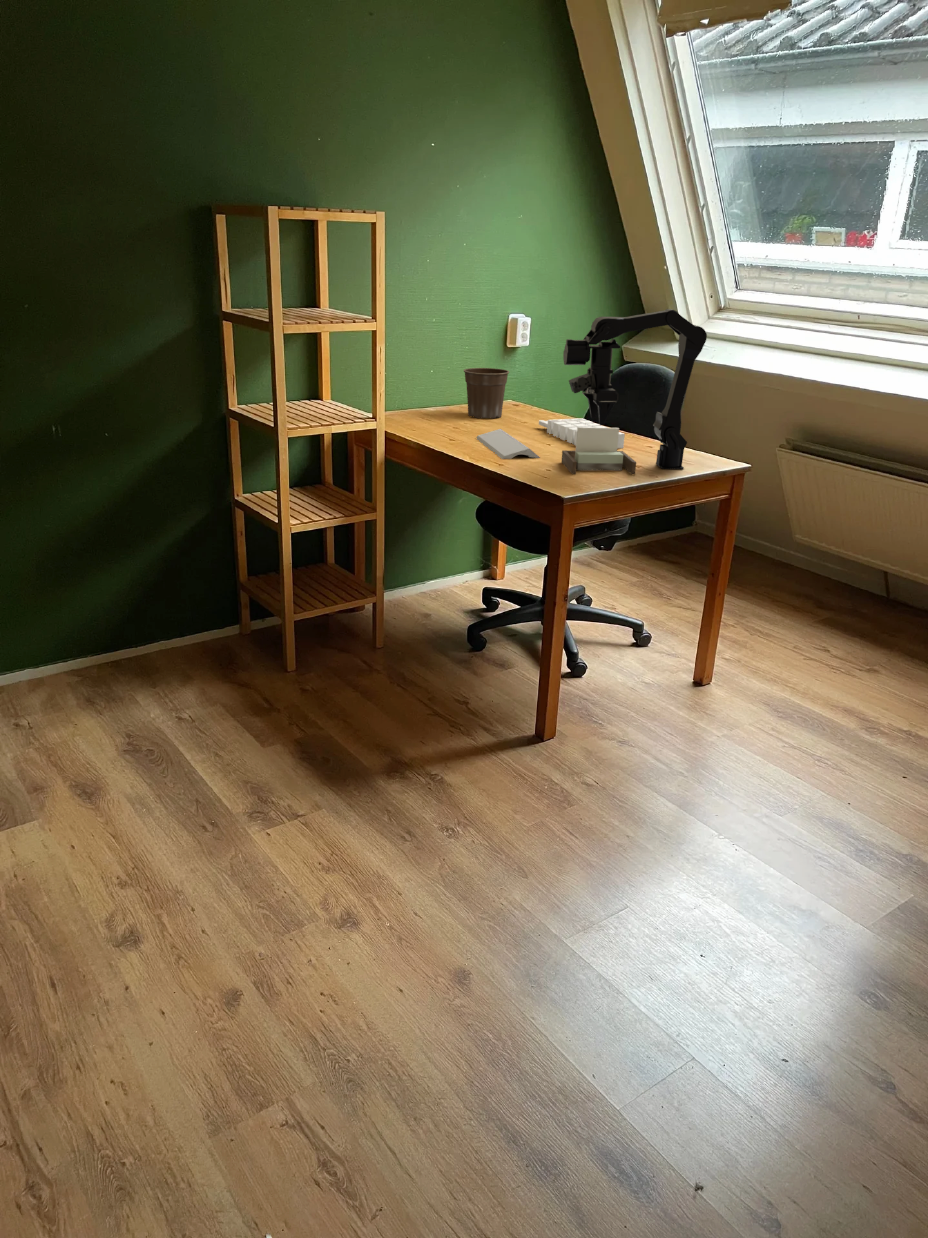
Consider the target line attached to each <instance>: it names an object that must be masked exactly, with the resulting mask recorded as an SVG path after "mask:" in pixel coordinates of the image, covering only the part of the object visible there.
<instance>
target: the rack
mask: <svg viewBox="0 0 928 1238" xmlns="http://www.w3.org/2000/svg"><path fill="white" fill-rule="evenodd" d="M617 452H621V453H622V454H623V464H622V468H623V469H624V470H626V471H627V472H628V473H629V474H630V475H632V474H635V475H636V471H637V469H636V468H637V461H636V460H634V459H633V458H632V457H631V456H630V455H628V454H627V453H626V452H625V451H624V450H617ZM561 464H562V465H563V466H564V467H565V468H566V469H567V470H568V471H569V473H570V474H572V475H576V474H577V470H576V464H577V462H576V461H575V450H561Z"/></svg>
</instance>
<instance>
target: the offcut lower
mask: <svg viewBox="0 0 928 1238" xmlns="http://www.w3.org/2000/svg"><path fill="white" fill-rule="evenodd" d="M622 464H623V463H577V464H576V471H620V472H621V471H623V467H622Z"/></svg>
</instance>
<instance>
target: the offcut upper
mask: <svg viewBox="0 0 928 1238" xmlns="http://www.w3.org/2000/svg"><path fill="white" fill-rule="evenodd" d="M575 461H576V462H577V463H623V454H622V453H621V452H576V454H575Z"/></svg>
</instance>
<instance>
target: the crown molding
mask: <svg viewBox="0 0 928 1238" xmlns="http://www.w3.org/2000/svg"><path fill="white" fill-rule="evenodd" d="M476 438H477V439H476ZM475 439H476V440H477V441H478V440H479V441H478V442H480V443H481V444H482V443H483V444H482V445H483V446H485V447H486V448H487V447H488V448H487V449H488V450H489V451H491V452H492V451H493V452H492V453H494V452H495V453H494V454H495V455H496V454H497V455H496V456H497V457H499V458H500V459H501V460H512V459H513V458H514V457H516V456H518V455H524V456H527V457H529V458H533V459H534V458H535V459H541V456H539V455H538V454H537V453H535V452H534V451H533V450H532V449H531V448H529V447H528V446H526V445H525V444H523V443H522V442H521V441H519V440H518V439H517V438H515V437H513V436H512V435H510V434H509V433H507V432H506V431H505V430H503V429H501V428H498V429H495V430H492V431H488V432H485V433H482V434H479V435H477V436H476V437H475Z"/></svg>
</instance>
